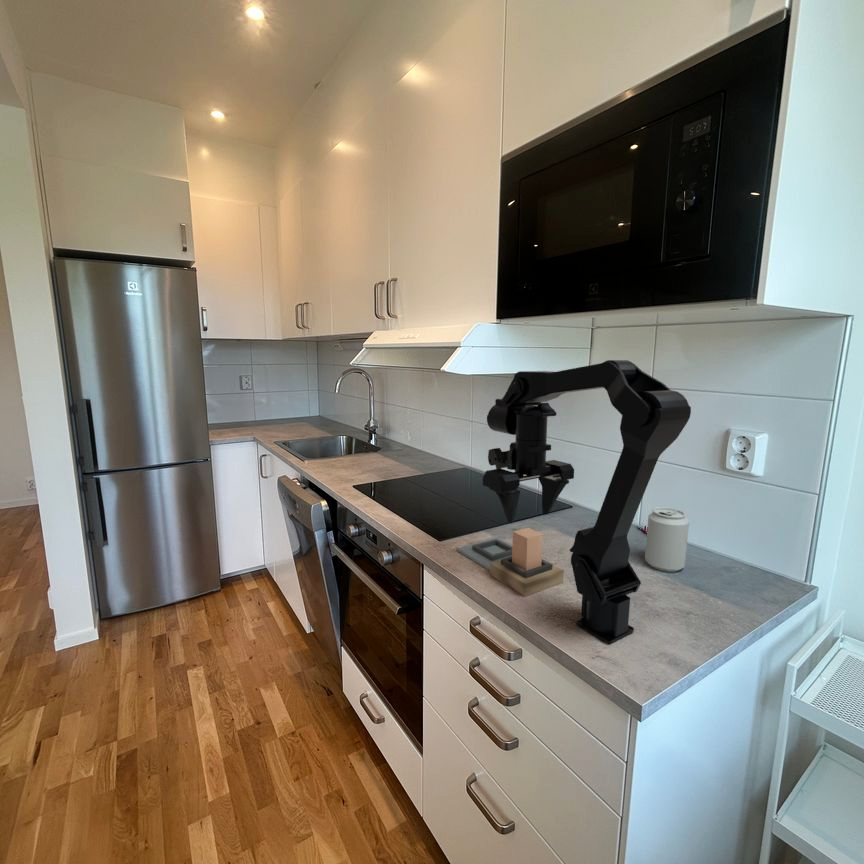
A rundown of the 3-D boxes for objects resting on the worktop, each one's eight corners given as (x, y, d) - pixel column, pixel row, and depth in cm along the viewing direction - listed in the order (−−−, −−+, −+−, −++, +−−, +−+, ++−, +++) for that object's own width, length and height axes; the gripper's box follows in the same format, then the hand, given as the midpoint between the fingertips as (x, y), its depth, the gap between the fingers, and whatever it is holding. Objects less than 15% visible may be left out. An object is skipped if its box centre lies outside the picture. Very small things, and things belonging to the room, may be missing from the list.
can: (636, 560, 98) (640, 507, 96) (662, 555, 100) (667, 503, 98) (665, 576, 91) (670, 518, 89) (692, 570, 93) (698, 514, 92)
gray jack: (533, 558, 99) (533, 551, 98) (490, 571, 92) (490, 564, 92) (497, 539, 109) (497, 533, 108) (456, 550, 102) (456, 543, 102)
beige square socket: (563, 582, 88) (564, 565, 87) (525, 596, 83) (525, 578, 82) (526, 563, 96) (527, 547, 96) (489, 574, 91) (490, 558, 90)
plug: (541, 568, 88) (542, 534, 87) (526, 573, 86) (527, 538, 85) (526, 560, 92) (528, 527, 91) (511, 565, 90) (512, 531, 89)
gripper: (535, 429, 97) (533, 499, 99) (465, 436, 87) (464, 515, 89) (577, 436, 87) (573, 514, 90) (504, 445, 78) (501, 532, 80)
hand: (528, 518), depth 87 cm, fingers open, 9 cm apart
